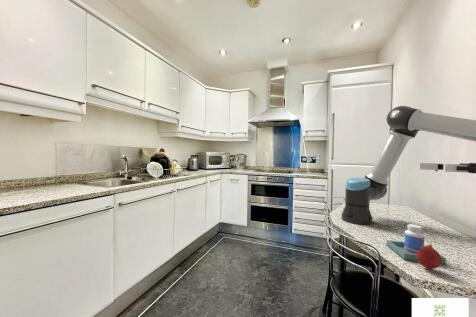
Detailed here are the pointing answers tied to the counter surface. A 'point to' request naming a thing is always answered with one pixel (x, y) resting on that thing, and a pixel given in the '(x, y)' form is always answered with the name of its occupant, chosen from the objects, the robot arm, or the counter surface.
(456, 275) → the counter surface
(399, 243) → the tray
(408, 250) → the pill bottle
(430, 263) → the onion
